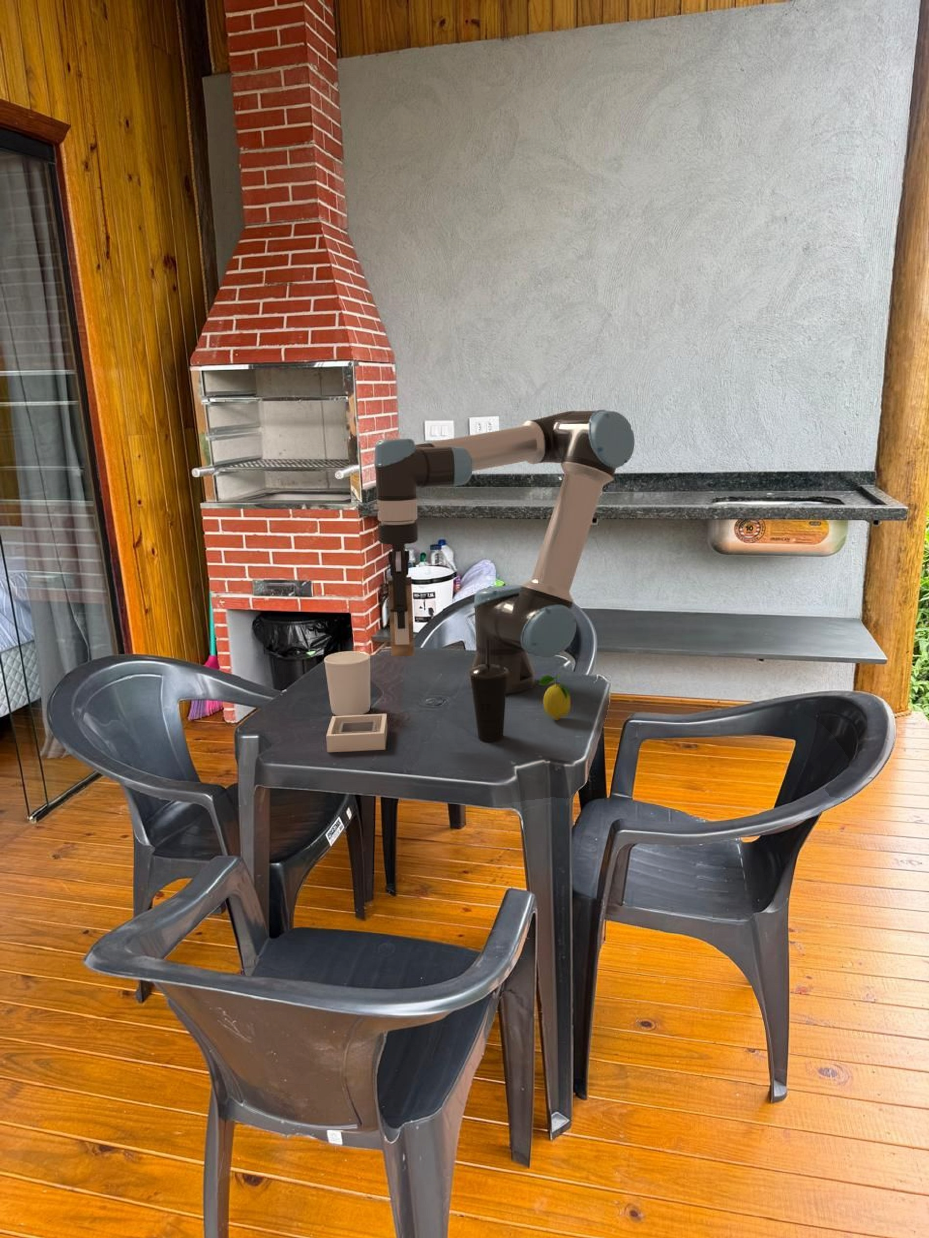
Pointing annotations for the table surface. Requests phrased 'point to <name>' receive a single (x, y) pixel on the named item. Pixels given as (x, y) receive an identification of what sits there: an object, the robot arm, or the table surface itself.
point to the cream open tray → (357, 733)
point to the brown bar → (408, 648)
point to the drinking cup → (489, 698)
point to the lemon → (555, 698)
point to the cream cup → (348, 682)
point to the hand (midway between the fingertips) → (402, 640)
